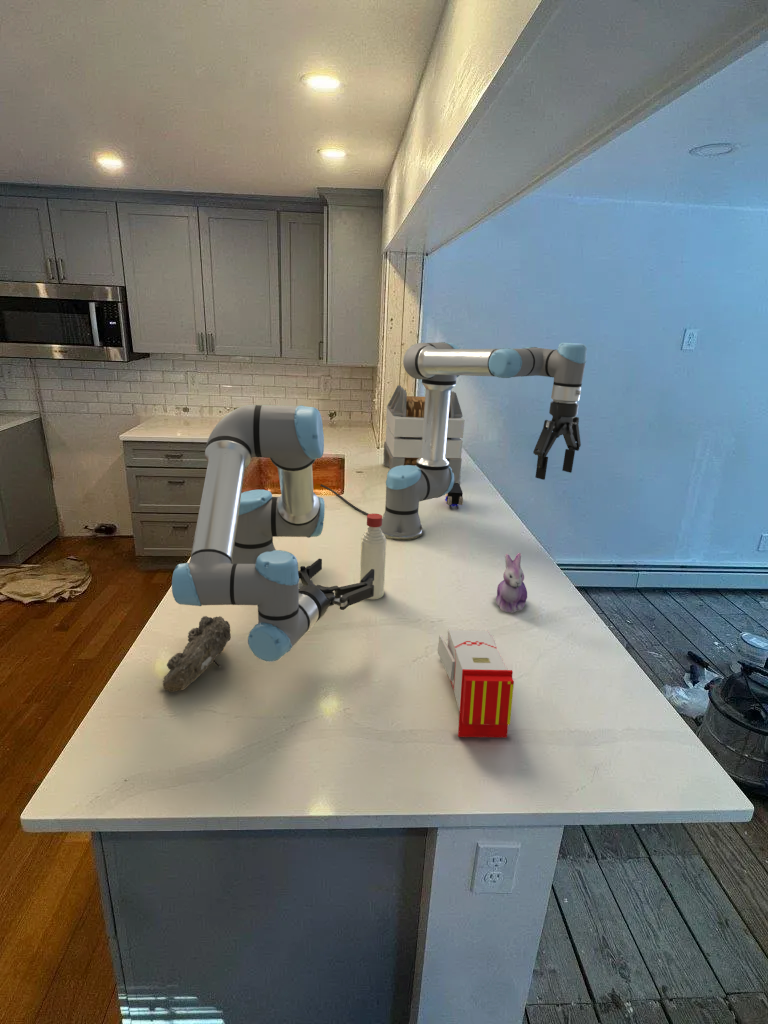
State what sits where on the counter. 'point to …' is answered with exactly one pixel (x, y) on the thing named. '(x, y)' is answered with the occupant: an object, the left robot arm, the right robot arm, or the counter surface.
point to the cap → (374, 520)
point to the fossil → (197, 653)
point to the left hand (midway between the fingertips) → (346, 569)
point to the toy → (478, 682)
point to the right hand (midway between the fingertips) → (553, 475)
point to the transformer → (419, 431)
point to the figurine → (512, 586)
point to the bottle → (374, 558)
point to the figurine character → (454, 496)
